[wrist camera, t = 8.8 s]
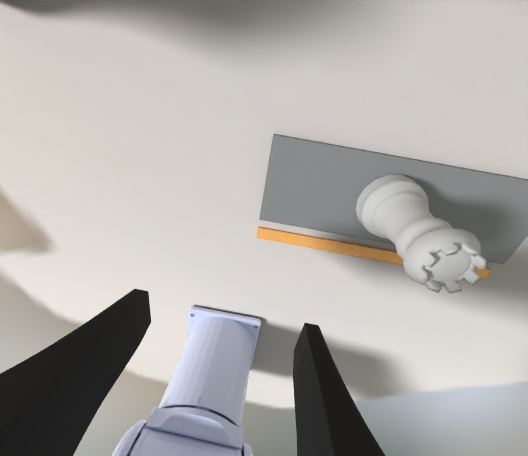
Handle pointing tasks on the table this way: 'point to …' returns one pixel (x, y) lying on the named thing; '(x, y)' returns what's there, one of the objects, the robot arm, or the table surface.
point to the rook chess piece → (419, 234)
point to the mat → (380, 165)
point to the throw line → (338, 247)
